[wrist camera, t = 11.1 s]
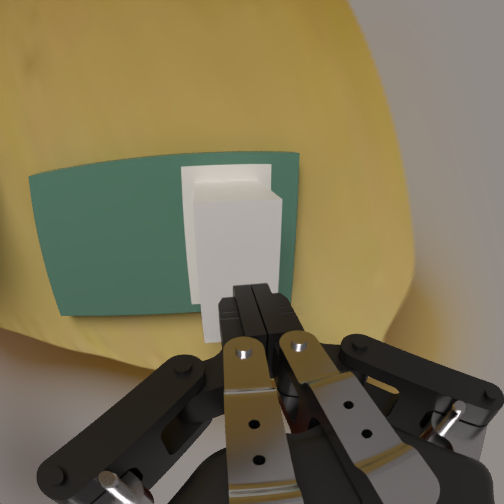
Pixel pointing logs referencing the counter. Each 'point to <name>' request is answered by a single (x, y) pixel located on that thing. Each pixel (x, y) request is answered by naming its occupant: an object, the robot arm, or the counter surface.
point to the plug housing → (234, 242)
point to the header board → (144, 228)
